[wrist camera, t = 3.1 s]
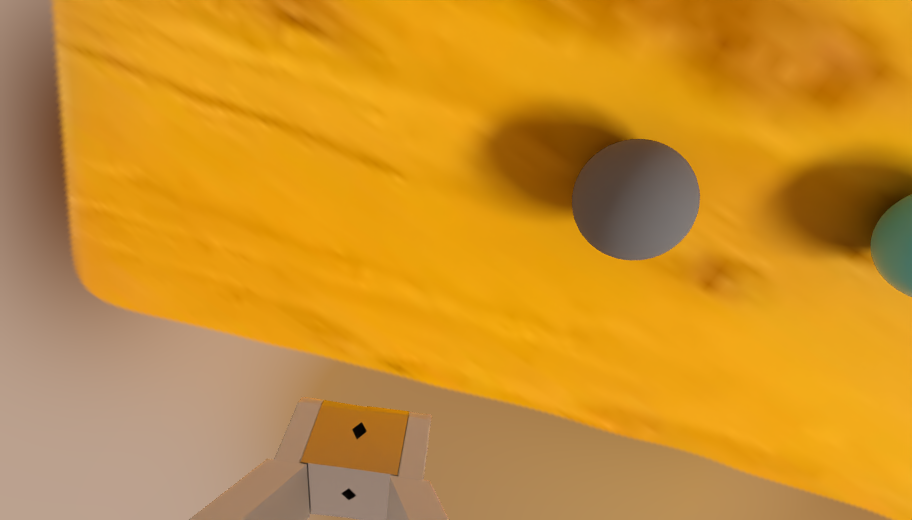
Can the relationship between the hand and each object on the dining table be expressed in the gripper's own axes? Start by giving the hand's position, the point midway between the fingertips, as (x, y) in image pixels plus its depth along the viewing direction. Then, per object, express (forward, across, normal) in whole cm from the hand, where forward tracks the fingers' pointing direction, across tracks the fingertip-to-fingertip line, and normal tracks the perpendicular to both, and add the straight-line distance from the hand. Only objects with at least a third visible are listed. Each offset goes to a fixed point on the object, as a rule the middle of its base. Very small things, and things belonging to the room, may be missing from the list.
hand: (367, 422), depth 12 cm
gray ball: (+14, -10, 0) cm, 17 cm away
